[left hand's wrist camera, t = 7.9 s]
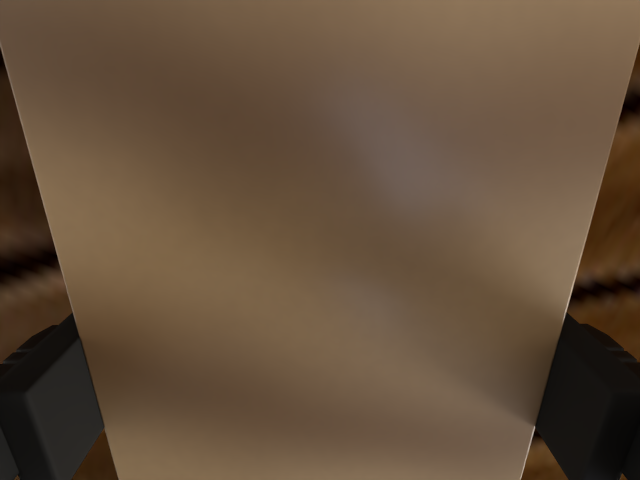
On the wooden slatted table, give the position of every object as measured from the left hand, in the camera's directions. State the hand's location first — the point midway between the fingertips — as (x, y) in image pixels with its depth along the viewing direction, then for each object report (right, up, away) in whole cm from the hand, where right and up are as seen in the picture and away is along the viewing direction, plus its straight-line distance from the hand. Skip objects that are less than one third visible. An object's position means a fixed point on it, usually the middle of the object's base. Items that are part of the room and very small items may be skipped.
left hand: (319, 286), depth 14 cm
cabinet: (0, +8, +2) cm, 8 cm away
